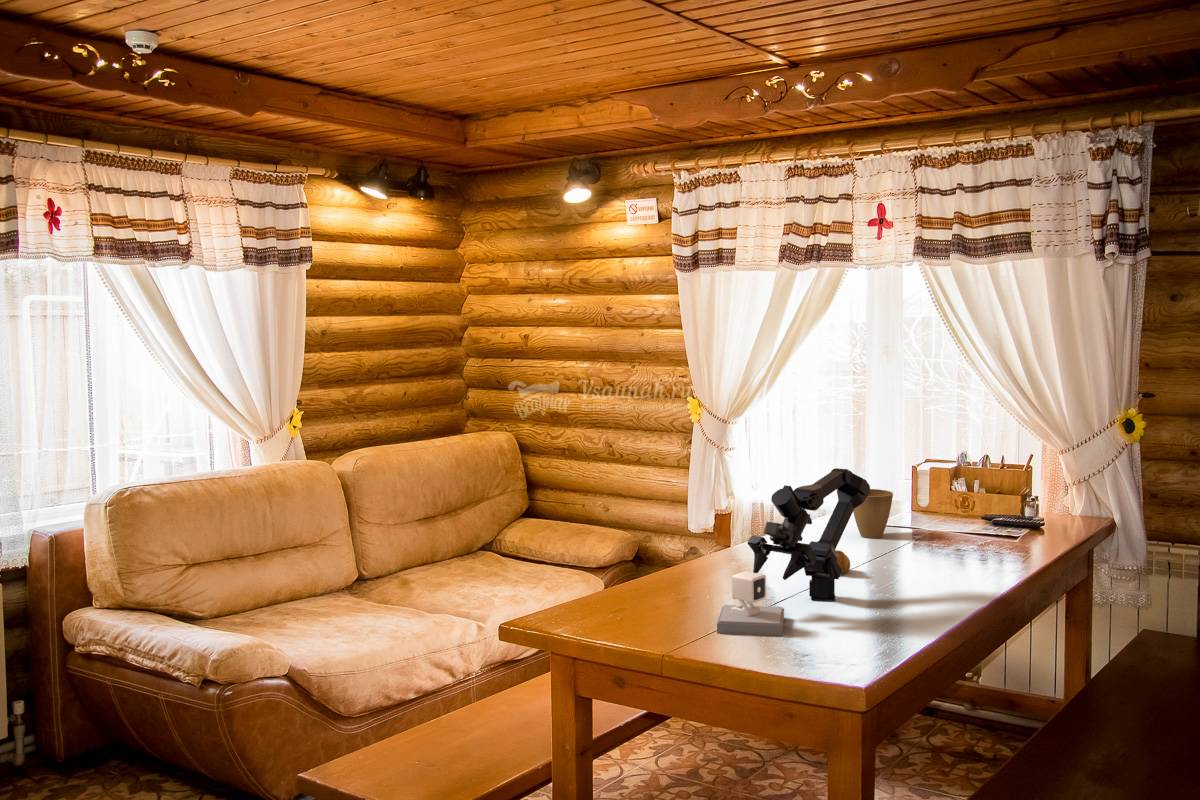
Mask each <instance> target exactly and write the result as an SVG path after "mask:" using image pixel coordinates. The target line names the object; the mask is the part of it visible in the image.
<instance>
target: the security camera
mask: <svg viewBox="0 0 1200 800" xmlns="http://www.w3.org/2000/svg"><path fill="white" fill-rule="evenodd" d="M731 588H732V589H731V591H732V593H731V594H732V595H731V596H732V598H731V599H733V600H738V601H739V603H740V604H739V605H738V607H737V606H735V607H732V608H731V613H734V614H739V615H744V616H751V615H754V614H756V613H759V612H760V607H757V606H758V605H754V603H758V602H761V601H762V600H765V599H766V598H767V576H766V574H762V573H759V572H758V573H753V571H751V572H750V571H745V570H744V571H742V572H741V571H740V572H738V573H736V574H733V575H732V577H731Z"/></svg>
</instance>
